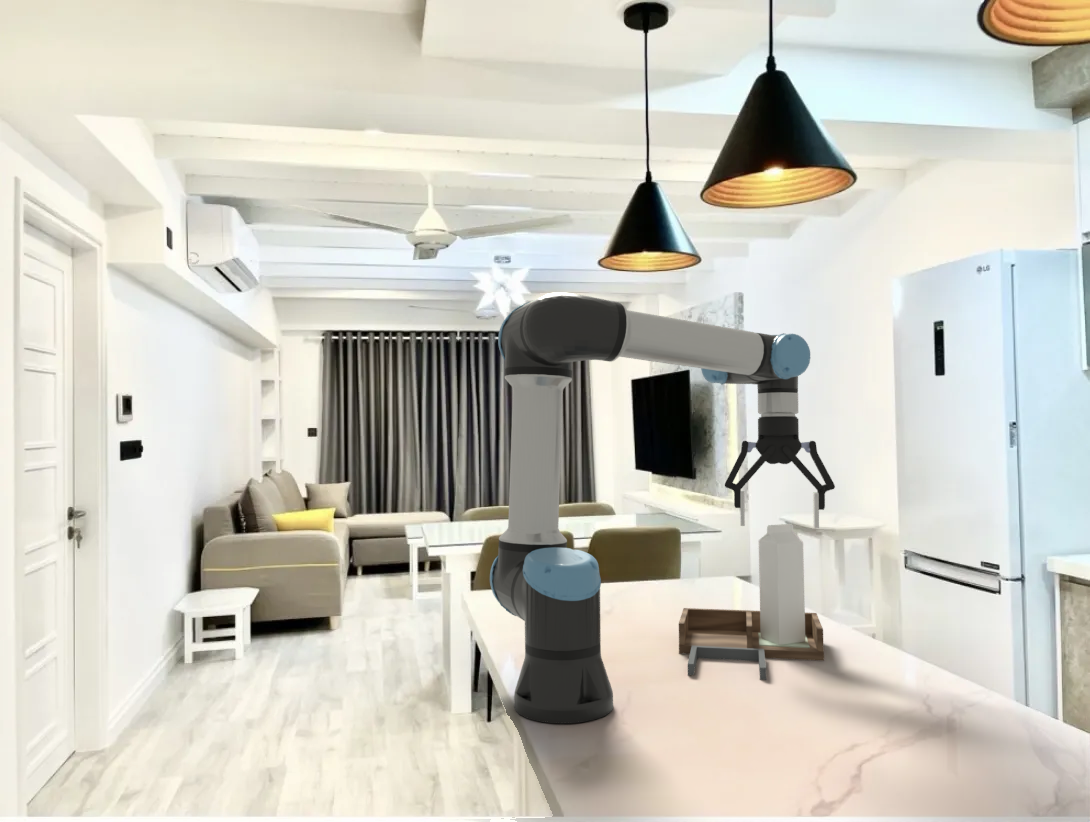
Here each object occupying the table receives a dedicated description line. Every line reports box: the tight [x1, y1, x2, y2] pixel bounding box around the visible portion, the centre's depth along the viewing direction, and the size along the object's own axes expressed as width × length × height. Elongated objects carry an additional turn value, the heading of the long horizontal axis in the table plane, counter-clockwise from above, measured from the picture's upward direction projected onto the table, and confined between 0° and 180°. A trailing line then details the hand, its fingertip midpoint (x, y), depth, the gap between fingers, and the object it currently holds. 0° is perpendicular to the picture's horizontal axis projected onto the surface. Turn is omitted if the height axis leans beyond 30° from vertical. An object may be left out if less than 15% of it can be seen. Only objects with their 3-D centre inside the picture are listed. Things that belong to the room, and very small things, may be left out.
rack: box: [678, 607, 825, 662], centre depth 155 cm, size 14×26×6 cm, turn 76°
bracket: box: [687, 645, 767, 681], centre depth 142 cm, size 12×13×2 cm
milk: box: [758, 523, 806, 645], centre depth 154 cm, size 6×6×22 cm
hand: (779, 526), depth 154 cm, fingers open, 13 cm apart
